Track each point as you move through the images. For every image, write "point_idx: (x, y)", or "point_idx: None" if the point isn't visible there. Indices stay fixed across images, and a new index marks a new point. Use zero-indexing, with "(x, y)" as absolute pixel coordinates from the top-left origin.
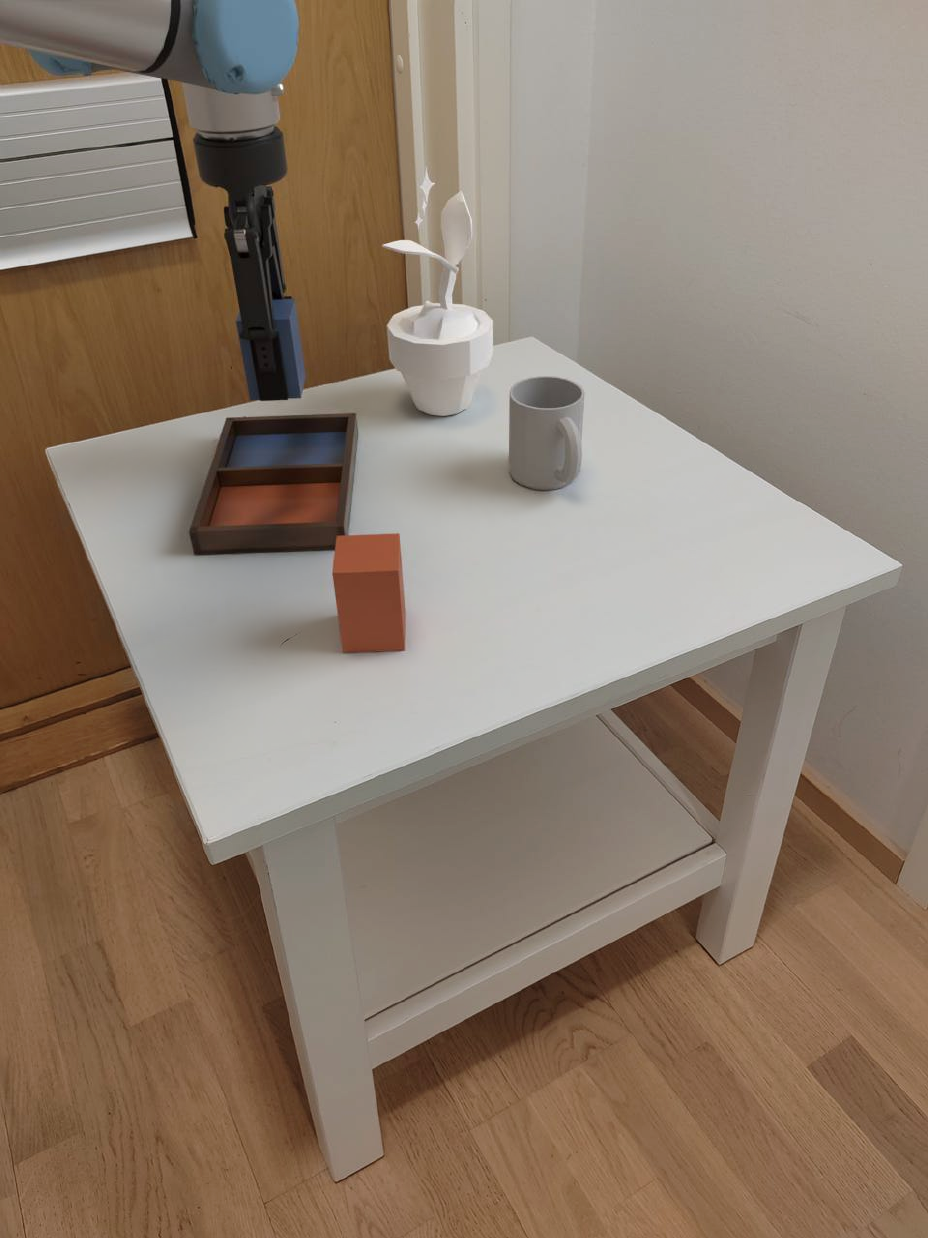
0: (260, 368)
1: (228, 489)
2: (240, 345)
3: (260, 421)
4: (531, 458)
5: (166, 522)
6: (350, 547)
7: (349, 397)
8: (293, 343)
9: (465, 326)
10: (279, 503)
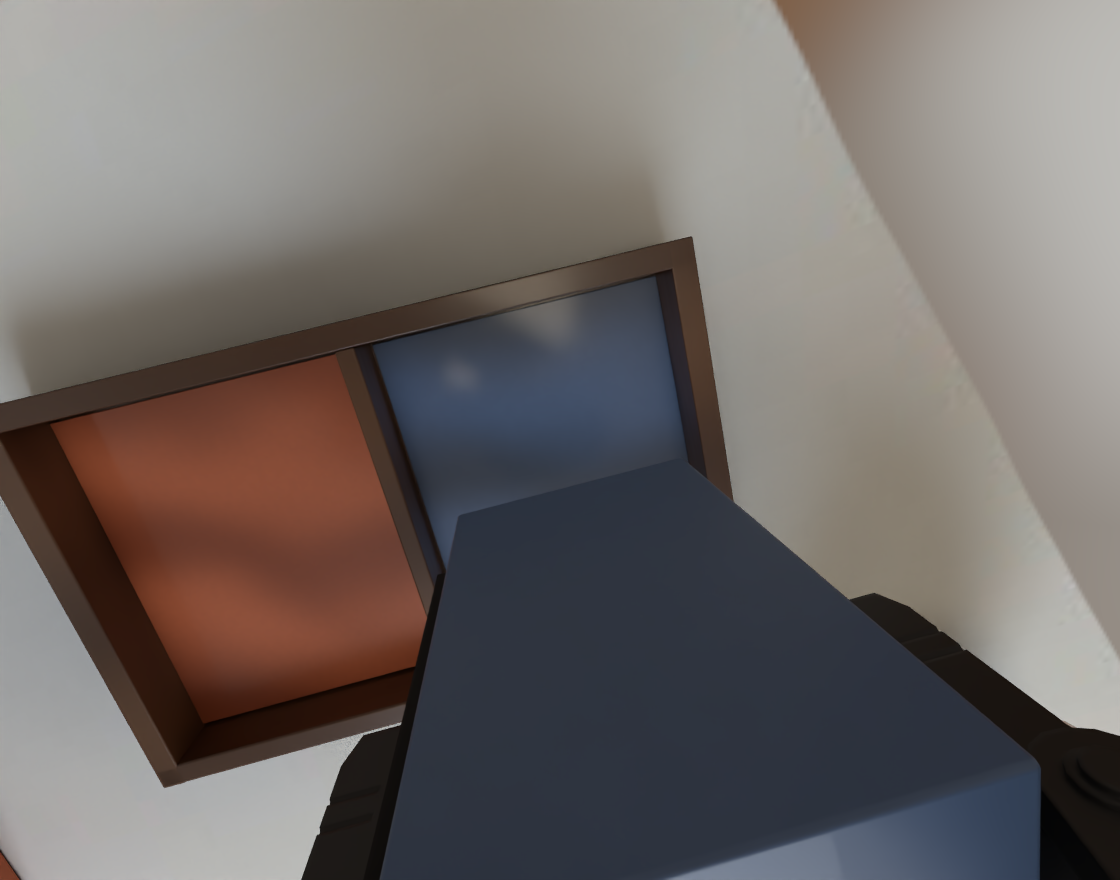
0: (342, 772)
1: (340, 379)
2: (416, 709)
3: (686, 361)
4: None
5: (158, 242)
6: None
7: (926, 503)
8: None
9: None
10: (309, 544)
